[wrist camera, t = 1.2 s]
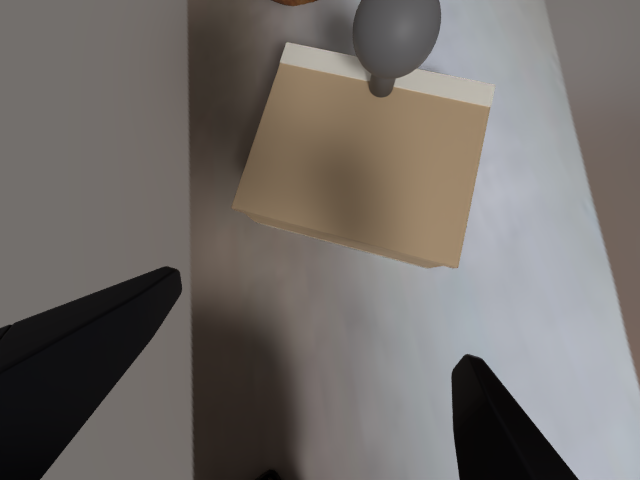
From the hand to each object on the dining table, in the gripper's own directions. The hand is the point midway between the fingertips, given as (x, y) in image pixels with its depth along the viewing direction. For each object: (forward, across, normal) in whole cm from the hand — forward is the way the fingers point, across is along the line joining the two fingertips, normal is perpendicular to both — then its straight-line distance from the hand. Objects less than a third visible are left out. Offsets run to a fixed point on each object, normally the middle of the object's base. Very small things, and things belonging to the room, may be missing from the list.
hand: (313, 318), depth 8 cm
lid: (+13, 0, -2) cm, 13 cm away
